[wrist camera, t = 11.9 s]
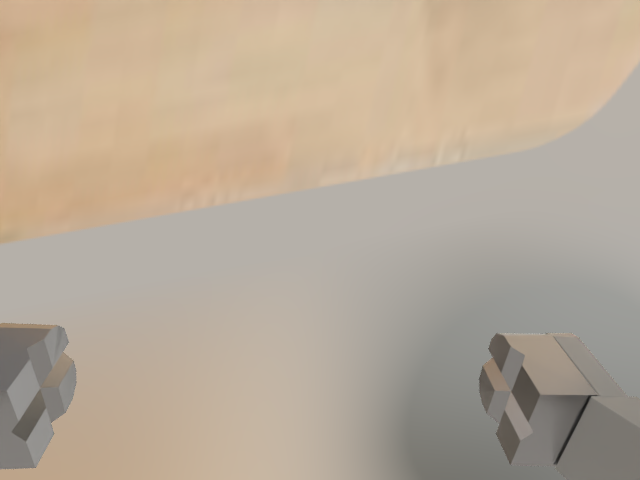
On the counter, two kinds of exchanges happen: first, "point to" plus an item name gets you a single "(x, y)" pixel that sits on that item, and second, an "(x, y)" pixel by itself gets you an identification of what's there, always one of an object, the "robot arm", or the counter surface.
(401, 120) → the counter surface
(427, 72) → the counter surface
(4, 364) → the robot arm
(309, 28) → the counter surface
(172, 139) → the counter surface
